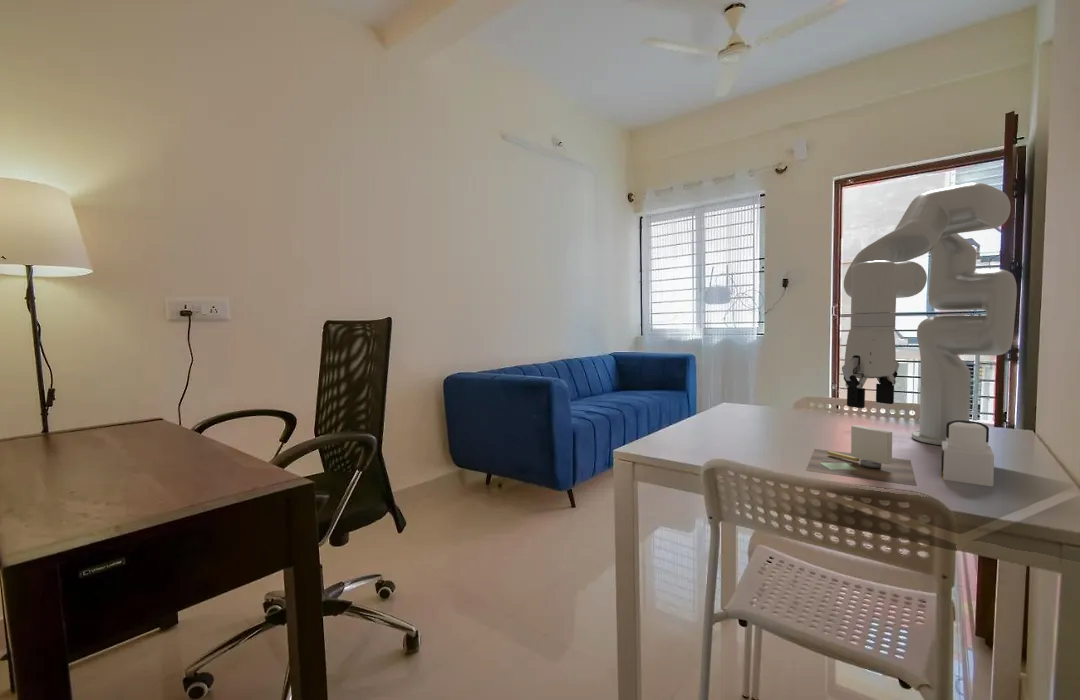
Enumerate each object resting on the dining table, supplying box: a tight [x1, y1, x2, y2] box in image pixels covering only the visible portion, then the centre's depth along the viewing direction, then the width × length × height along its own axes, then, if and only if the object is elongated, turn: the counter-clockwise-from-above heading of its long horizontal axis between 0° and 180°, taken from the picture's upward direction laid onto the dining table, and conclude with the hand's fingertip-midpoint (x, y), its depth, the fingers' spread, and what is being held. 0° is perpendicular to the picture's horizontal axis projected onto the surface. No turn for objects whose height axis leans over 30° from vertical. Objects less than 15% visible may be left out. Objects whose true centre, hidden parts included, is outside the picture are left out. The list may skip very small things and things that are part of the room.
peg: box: [828, 424, 893, 468], centre depth 101 cm, size 4×12×8 cm, turn 25°
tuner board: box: [805, 448, 918, 487], centre depth 100 cm, size 18×18×1 cm
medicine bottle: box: [940, 420, 995, 487], centre depth 90 cm, size 7×7×12 cm
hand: (870, 405), depth 98 cm, fingers open, 9 cm apart
